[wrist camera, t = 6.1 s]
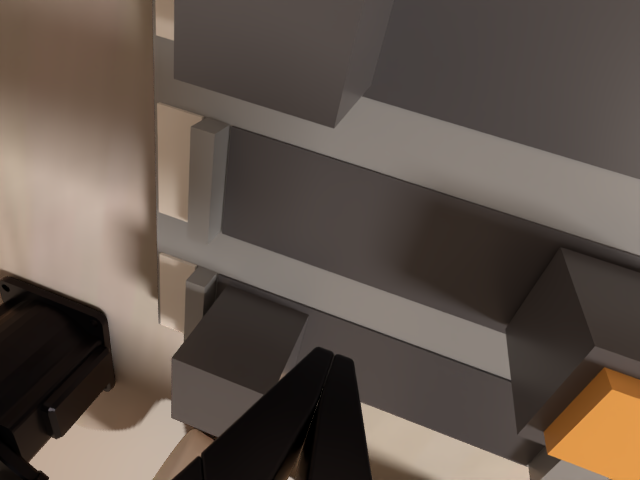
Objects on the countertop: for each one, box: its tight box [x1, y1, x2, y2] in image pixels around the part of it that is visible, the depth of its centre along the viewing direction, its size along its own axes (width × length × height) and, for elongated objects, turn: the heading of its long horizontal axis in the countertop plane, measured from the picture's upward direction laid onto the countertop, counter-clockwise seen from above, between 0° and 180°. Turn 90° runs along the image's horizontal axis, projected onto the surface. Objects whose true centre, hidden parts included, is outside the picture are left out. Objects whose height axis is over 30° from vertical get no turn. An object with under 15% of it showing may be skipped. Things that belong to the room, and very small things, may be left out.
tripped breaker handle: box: [505, 247, 640, 480], centre depth 11 cm, size 4×4×5 cm
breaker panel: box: [152, 0, 640, 480], centre depth 13 cm, size 20×17×5 cm
